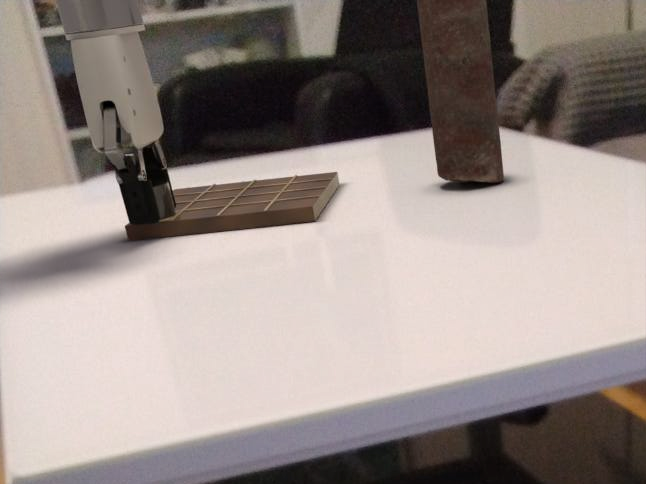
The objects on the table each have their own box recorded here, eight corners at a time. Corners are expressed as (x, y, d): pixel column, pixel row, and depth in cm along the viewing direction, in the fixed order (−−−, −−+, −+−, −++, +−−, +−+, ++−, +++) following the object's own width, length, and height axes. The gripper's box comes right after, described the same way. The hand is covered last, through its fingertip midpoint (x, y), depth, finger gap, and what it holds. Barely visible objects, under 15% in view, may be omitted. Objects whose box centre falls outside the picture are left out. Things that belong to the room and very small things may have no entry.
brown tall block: (454, 193, 111) (431, -25, 100) (426, 185, 116) (401, -22, 105) (515, 181, 113) (500, -34, 102) (485, 174, 119) (467, -31, 108)
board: (128, 240, 107) (123, 224, 106) (177, 202, 124) (173, 188, 123) (315, 221, 106) (312, 205, 105) (339, 185, 123) (337, 170, 122)
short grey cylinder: (129, 223, 107) (119, 190, 105) (141, 214, 110) (132, 182, 109) (170, 219, 106) (161, 186, 105) (180, 210, 110) (172, 178, 108)
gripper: (93, 17, 106) (142, 203, 116) (30, 28, 91) (93, 239, 101) (163, 9, 105) (207, 196, 115) (111, 18, 91) (167, 231, 101)
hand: (153, 214), depth 108 cm, fingers open, 5 cm apart
